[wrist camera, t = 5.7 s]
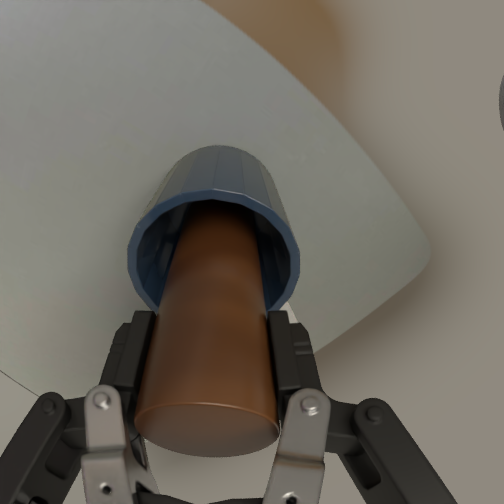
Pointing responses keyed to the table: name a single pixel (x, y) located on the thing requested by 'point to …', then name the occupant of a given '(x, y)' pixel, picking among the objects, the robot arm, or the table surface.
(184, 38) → the table surface
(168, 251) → the crock
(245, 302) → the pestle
